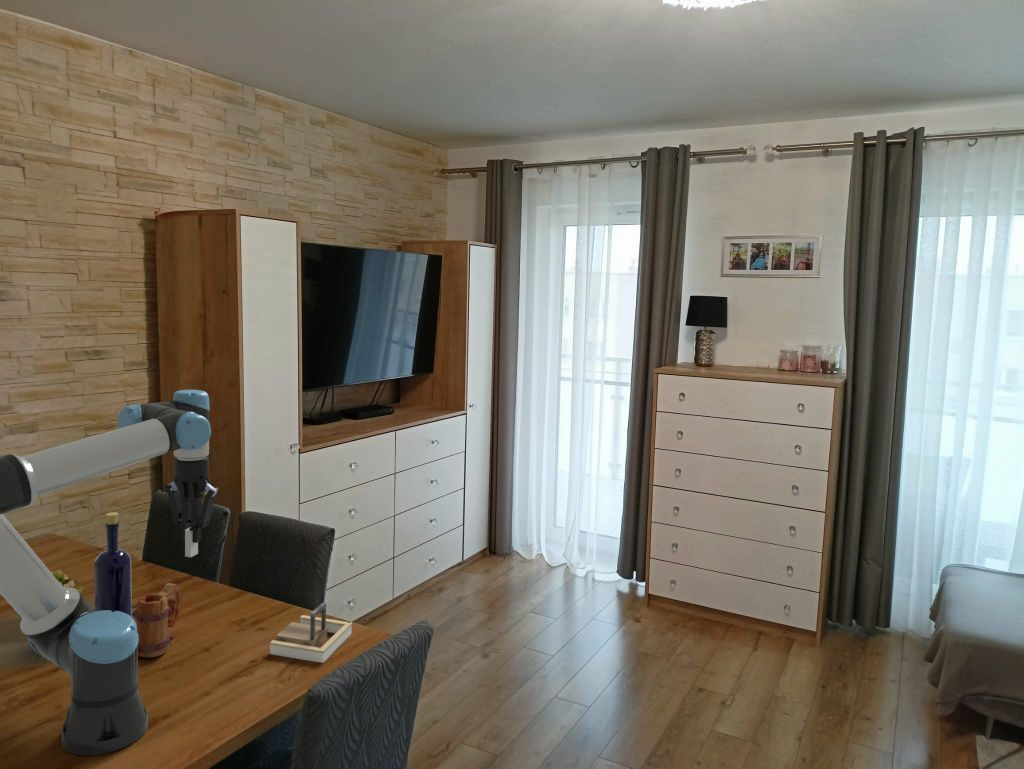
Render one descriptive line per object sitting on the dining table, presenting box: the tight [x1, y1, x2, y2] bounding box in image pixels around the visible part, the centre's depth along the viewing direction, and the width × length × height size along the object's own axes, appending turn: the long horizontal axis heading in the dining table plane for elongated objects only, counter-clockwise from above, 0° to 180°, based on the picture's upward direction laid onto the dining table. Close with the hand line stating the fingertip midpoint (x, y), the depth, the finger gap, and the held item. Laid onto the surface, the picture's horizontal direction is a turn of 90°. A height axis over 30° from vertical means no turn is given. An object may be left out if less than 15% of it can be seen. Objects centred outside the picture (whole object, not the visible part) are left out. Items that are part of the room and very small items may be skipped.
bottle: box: [93, 511, 133, 618], centre depth 193 cm, size 9×9×30 cm
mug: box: [132, 582, 182, 658], centre depth 183 cm, size 15×8×15 cm, turn 168°
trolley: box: [275, 602, 328, 648], centre depth 190 cm, size 10×10×10 cm
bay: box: [269, 614, 353, 664], centre depth 190 cm, size 17×14×3 cm
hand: (191, 554), depth 175 cm, fingers closed
